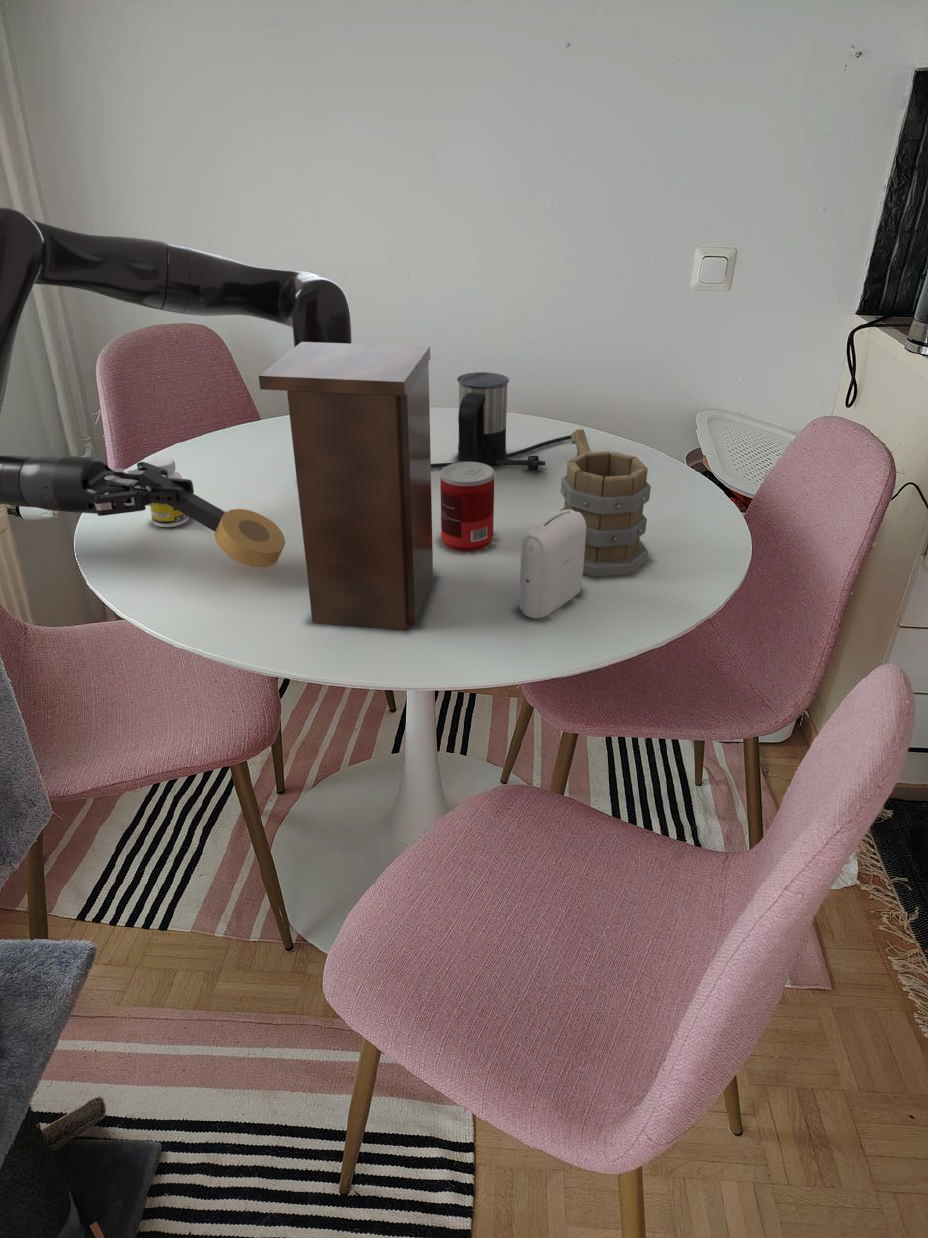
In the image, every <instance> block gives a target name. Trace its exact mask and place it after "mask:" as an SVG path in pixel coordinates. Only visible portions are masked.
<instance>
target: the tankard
mask: <svg viewBox="0 0 928 1238" xmlns="http://www.w3.org/2000/svg"><path fill="white" fill-rule="evenodd" d="M570 435H571V439H570V440H571V444H572V445H575V448H576V456H575V457H573V458H571V459H570V460H569V461H567V462H566V475H564V476H562V478H561V481H560V494H561V495H562V497H563V498H564V506H563V508H561V509H560V510H559V511H562V510H573V511H575V512H580V513H581V514H582V516H583V517H584V519H585V522H586V540H585V554H584V566H583V575H586V576H589V577H592V578H603V577H615V576H628V575H631V574H633V572H635V571H636V570H637V569H638V568H639V567H640V566H641V565H643V564H644V563H645V562H646V561H647V560H648V556H649V550H648V549H647V548H646V546H645V545H644V544H643V543H642V541H641V540H640V539H641V537H642V536H643V535H644V534H645V533H646V529H647V523H648V522H647V521H648V518H647V517H646V516H645V514H643V513H644V506H645V504H647V503H648V502H649V501H650V497H651V489H652V486H651V485H650V483H649V482H648V481H647V480H648V471H649V469H648V467H647V466H646V465H645V464H644V463H643V461H641V460H640V458H639V457H637V456H635V455H630V454H626V453H621V452H617V451H611V452H610V450H604V451H591V448H590V445H589V443H588V439H587V435H586V432H585V430H584V429H582V428H581V429H576V430H574V431H573V432H571V434H570Z"/></svg>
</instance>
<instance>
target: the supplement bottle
mask: <svg viewBox="0 0 928 1238" xmlns="http://www.w3.org/2000/svg"><path fill="white" fill-rule="evenodd" d="M146 463H149V464H151V465H154V466H157V467H160V468H162V469H165V470H167V472H168V478H175V479H183V476H182V474H181V473H179V472H178V471H177V468H176V467H177V466H176V462H175V458H172V457H169V456H159V457H153V458H151V459H149V460H147V462H146ZM149 509H150V514H151V519H152V523H153V524H154V525H155V526H157V527H162V528H173V527H179V526H182V525H183V524H185V523H187V522H188V520H189V518H190V517H188V516H187V515H185V514H183V513H181V512H180V511H178V510H176V509H175V508H173V507H171V506H169V505H168V504H160V503H157V504H156V505H153V506H149Z"/></svg>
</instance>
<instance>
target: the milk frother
mask: <svg viewBox="0 0 928 1238" xmlns="http://www.w3.org/2000/svg"><path fill="white" fill-rule="evenodd" d="M456 381H457V383H458V414H457V415H458V416H457V418H458V422H457V423H458V443H457V444H458V445H457V455H456V461H457V462H478V463H483V464H486V465H488V466H490V467H492V468H495V467H499V466H503V465H504V466H526V467H527V470H528V471H539V467H544V466H546V463H547V462H546V461H544V460H541V459H540V458H539V455H528V456H527V459H508V458H507V457H506V454H507V412H508V384H509V382H510V378H509V376H506V375H504V374H500V373H495V372H485V371H484V372H483V371H477V372H469V373H465V374H461V375H459V376H458V377H457V378H456Z"/></svg>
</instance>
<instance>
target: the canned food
mask: <svg viewBox="0 0 928 1238" xmlns="http://www.w3.org/2000/svg"><path fill="white" fill-rule="evenodd" d="M457 462H458V461H457ZM453 463H454V464H450V465H448V466H446V467H442V469H441V470H440V474H439V475H440V477H439V482H440V484H439V485H440V487H439V488H440V491H439V493H440V533H441V534H440V536H441V537H440V538H441V541H442V543H443V545H444V546H445V547H447V548H448V549H450V550H453V551H457V552H465V553H466V552H476V551H480V550H483V549H485V548H487V547H488V546H490V544H491V543H492V540H493V538H494V524H495V523H494V519H495V517H494V516H495V515H494V514H495V483H496V482H495V470H494V467H490V466H488V465H486V464H483V463H478V462H458V463H455V462H453Z"/></svg>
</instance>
